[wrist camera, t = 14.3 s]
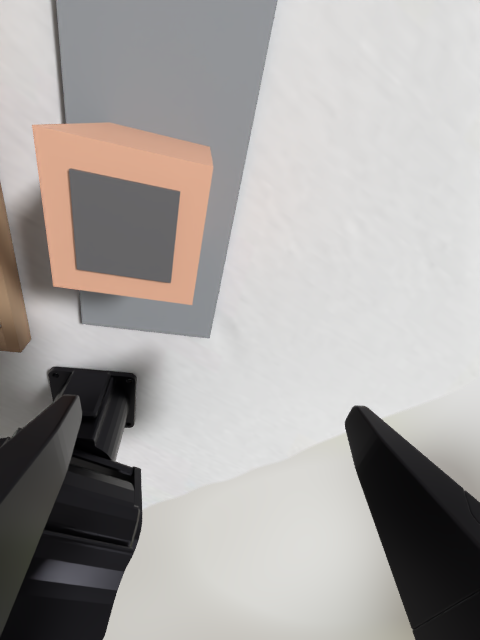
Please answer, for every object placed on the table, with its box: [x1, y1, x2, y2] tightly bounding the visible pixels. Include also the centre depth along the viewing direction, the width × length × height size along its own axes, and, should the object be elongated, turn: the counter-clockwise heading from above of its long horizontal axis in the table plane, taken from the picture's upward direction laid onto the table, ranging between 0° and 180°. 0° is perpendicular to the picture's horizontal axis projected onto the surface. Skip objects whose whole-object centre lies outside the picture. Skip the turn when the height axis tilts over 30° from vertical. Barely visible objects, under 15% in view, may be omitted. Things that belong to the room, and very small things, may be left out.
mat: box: [56, 0, 277, 338], centre depth 17 cm, size 20×9×1 cm, turn 168°
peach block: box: [32, 122, 213, 305], centre depth 13 cm, size 5×5×8 cm
